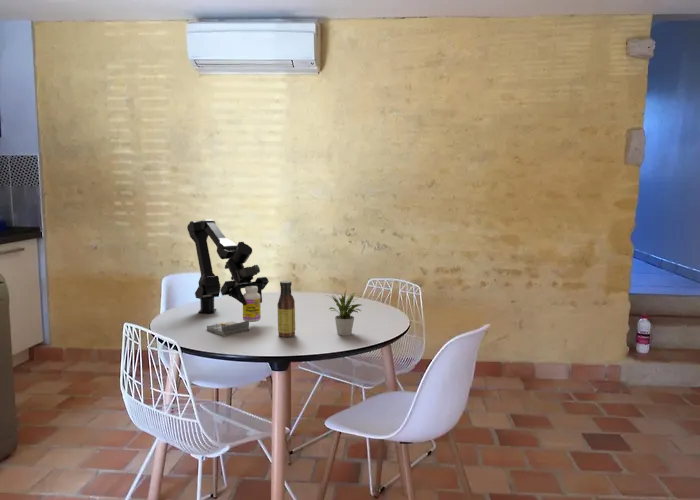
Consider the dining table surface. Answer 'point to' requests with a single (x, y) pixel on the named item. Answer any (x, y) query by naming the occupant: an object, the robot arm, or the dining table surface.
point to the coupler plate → (229, 328)
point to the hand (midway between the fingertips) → (253, 303)
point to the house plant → (345, 315)
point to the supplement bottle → (251, 304)
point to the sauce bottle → (286, 311)
